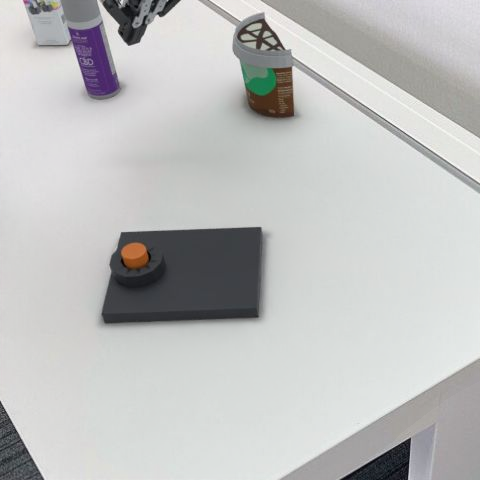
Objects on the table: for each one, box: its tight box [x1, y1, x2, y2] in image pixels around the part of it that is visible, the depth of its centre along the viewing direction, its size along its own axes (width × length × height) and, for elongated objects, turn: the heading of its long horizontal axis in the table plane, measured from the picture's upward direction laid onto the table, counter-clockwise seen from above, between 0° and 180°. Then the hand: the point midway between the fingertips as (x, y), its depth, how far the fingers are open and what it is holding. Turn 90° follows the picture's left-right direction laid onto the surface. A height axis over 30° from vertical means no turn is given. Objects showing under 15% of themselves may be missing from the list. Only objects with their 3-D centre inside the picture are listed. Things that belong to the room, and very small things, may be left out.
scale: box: [100, 226, 264, 324], centre depth 83 cm, size 16×13×3 cm
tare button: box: [121, 243, 149, 269], centre depth 81 cm, size 3×3×2 cm
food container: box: [231, 11, 295, 118], centre depth 103 cm, size 12×6×10 cm, turn 22°
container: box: [60, 0, 121, 100], centre depth 104 cm, size 5×5×15 cm
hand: (129, 38), depth 92 cm, fingers closed
